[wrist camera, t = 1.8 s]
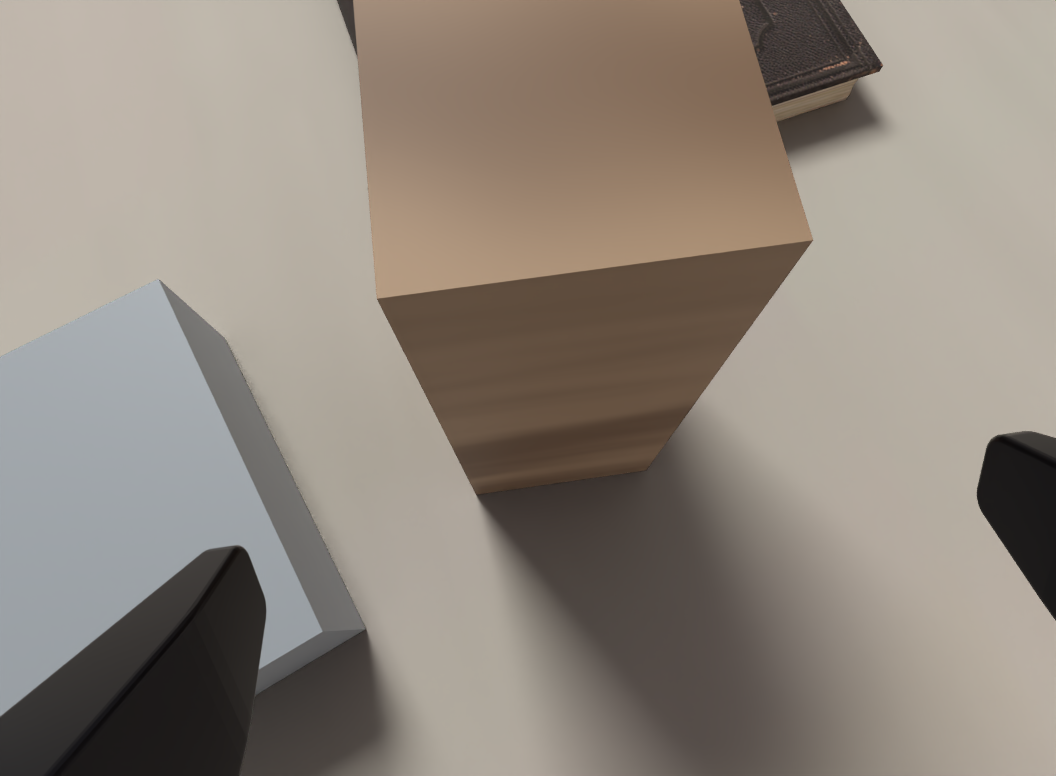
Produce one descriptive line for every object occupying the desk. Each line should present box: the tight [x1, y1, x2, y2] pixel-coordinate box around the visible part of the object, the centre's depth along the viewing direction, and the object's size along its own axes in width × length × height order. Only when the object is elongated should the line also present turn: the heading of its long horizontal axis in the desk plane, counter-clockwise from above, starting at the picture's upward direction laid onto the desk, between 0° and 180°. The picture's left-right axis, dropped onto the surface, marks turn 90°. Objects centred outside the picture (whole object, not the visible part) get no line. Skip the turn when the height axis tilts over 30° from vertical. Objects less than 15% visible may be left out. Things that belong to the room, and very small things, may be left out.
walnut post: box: [353, 0, 813, 495], centre depth 15 cm, size 5×5×13 cm
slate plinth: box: [0, 279, 366, 716], centre depth 18 cm, size 10×10×4 cm
